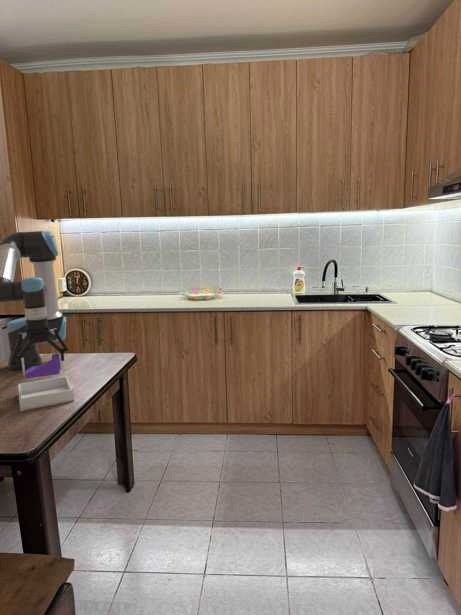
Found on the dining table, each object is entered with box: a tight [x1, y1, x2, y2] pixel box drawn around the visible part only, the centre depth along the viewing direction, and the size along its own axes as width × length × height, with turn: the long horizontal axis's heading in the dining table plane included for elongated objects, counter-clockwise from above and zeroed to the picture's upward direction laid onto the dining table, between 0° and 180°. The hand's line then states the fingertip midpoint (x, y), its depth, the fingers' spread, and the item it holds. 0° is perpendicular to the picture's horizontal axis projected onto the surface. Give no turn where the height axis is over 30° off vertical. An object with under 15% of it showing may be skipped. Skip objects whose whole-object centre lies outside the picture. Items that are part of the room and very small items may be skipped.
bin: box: [17, 375, 75, 412], centre depth 174 cm, size 19×19×5 cm
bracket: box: [24, 353, 61, 379], centre depth 171 cm, size 12×7×7 cm, turn 109°
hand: (43, 372), depth 172 cm, fingers closed on bracket, 12 cm apart
